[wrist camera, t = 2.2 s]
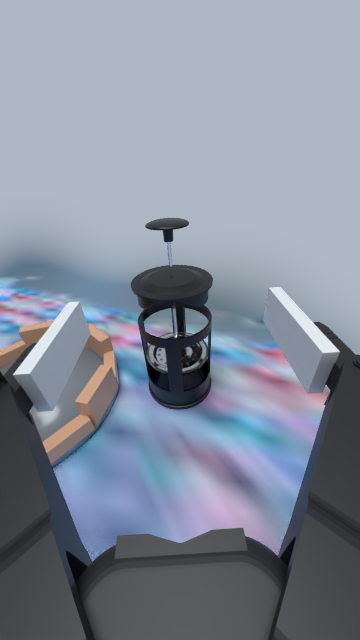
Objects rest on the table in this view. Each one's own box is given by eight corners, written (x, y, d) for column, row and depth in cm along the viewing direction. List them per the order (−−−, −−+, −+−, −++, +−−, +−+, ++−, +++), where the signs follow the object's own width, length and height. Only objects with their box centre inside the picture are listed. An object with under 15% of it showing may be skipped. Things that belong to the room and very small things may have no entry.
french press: (213, 414, 30) (223, 231, 17) (143, 413, 30) (99, 236, 17) (208, 353, 39) (212, 206, 26) (155, 353, 40) (133, 210, 27)
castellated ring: (-119, 463, 27) (-160, 439, 24) (31, 338, 46) (19, 316, 42) (52, 518, 22) (27, 496, 18) (141, 352, 40) (136, 327, 37)
